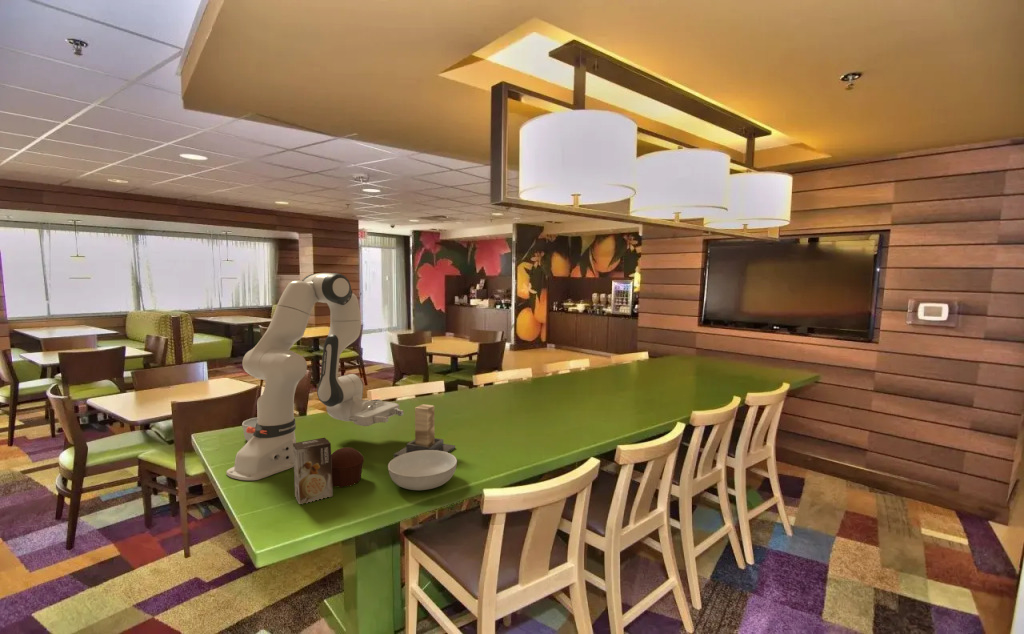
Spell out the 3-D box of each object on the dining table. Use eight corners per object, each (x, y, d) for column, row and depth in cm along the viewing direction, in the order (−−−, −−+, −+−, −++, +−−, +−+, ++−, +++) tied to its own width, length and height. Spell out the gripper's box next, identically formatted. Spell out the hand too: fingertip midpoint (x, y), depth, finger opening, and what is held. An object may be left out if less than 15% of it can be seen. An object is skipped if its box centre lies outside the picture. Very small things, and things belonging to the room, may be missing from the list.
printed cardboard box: (327, 488, 138) (326, 436, 137) (333, 497, 133) (332, 442, 132) (294, 496, 133) (292, 442, 131) (298, 505, 127) (297, 449, 126)
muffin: (365, 486, 140) (364, 454, 139) (326, 491, 136) (325, 459, 135) (363, 471, 151) (362, 441, 150) (326, 475, 147) (326, 445, 146)
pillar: (427, 453, 164) (427, 409, 163) (415, 451, 166) (415, 407, 165) (434, 448, 169) (434, 405, 168) (422, 446, 171) (422, 404, 170)
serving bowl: (427, 464, 157) (426, 444, 157) (470, 481, 144) (470, 460, 143) (374, 484, 141) (373, 463, 141) (418, 506, 128) (417, 482, 127)
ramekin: (287, 436, 183) (287, 419, 183) (255, 446, 172) (254, 428, 171) (268, 430, 190) (267, 414, 189) (235, 440, 179) (234, 422, 178)
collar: (432, 463, 157) (432, 452, 157) (393, 456, 163) (393, 445, 163) (455, 448, 172) (455, 437, 172) (418, 442, 178) (418, 432, 178)
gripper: (345, 410, 166) (377, 415, 161) (381, 398, 185) (410, 401, 180) (345, 427, 167) (377, 432, 162) (381, 413, 186) (410, 417, 181)
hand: (395, 416), depth 171 cm, fingers open, 8 cm apart
